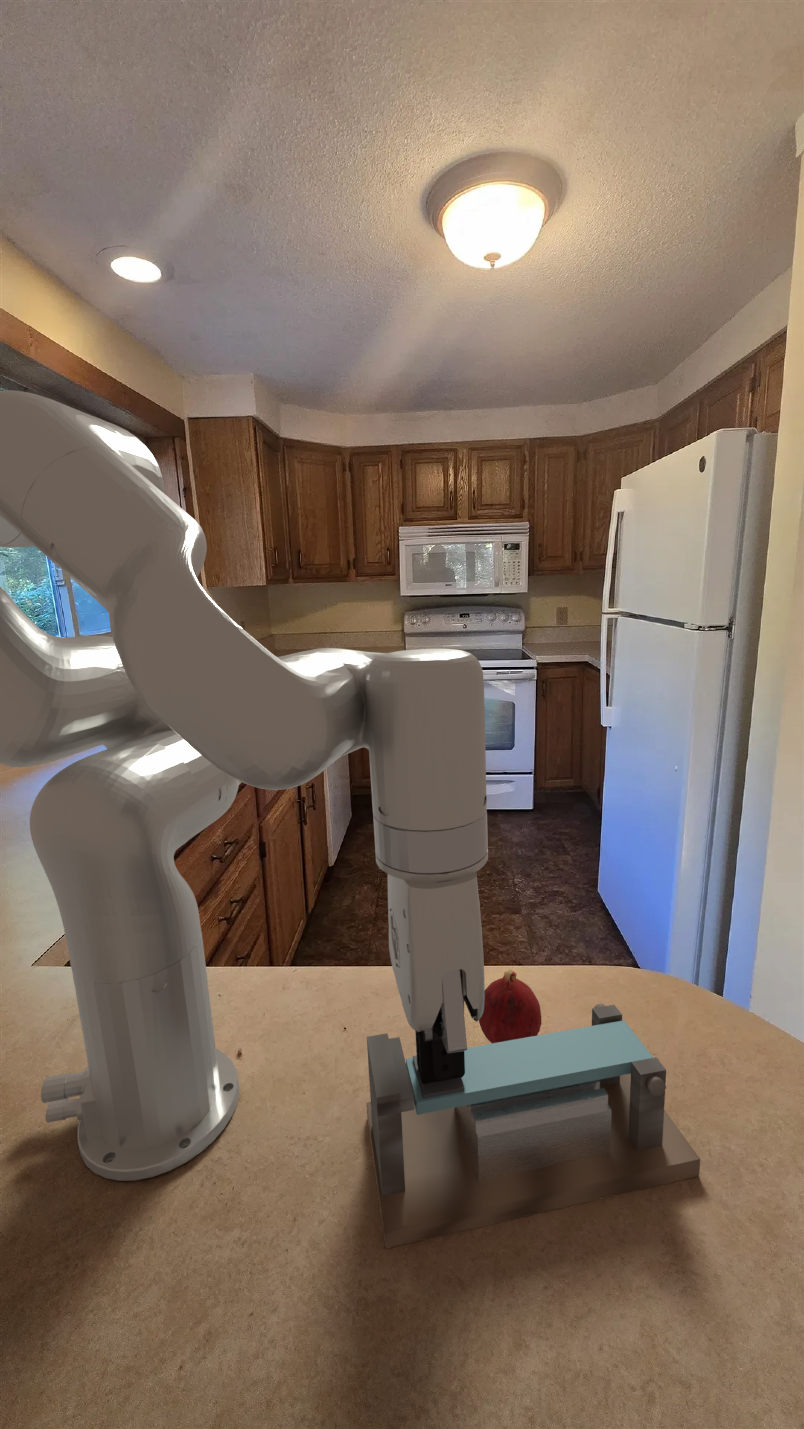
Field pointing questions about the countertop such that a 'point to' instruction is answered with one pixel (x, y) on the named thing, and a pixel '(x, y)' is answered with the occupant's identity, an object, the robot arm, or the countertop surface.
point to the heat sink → (537, 1129)
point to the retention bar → (532, 1066)
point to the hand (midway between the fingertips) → (440, 1072)
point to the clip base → (449, 1197)
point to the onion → (510, 1010)
